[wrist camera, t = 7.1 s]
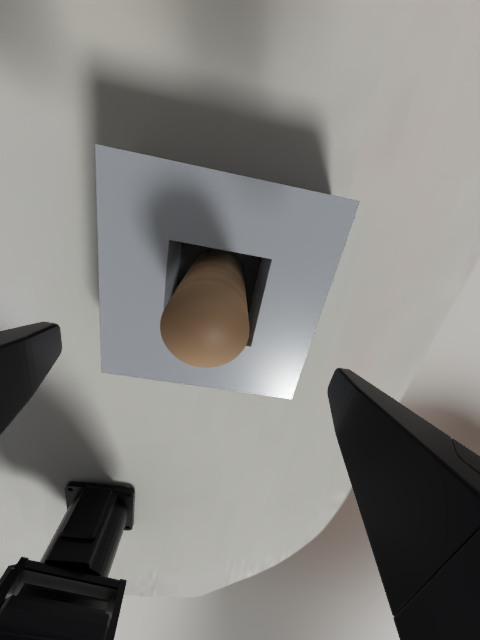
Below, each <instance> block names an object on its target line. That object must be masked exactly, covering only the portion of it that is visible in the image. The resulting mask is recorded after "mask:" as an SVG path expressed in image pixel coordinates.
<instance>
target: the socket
mask: <svg viewBox="0 0 480 640" xmlns="http://www.w3.org/2000/svg"><path fill="white" fill-rule="evenodd" d="M95 161H96V198H97V234H98V271H99V307H100V344H101V372H102V373H109V374H116V375H123V376H130V377H137V378H144V379H151V380H158V381H166V382H173V383H180V384H187V385H194V386H201V387H208V388H215V389H222V390H229V391H236V392H243V393H250V394H258V395H265V396H272V397H279V398H286V399H292V397H293V394H294V391H295V388H296V385H297V382H298V379H299V377H300V374H301V371H302V368H303V365H304V362H305V359H306V356H307V353H308V350H309V347H310V345H311V342H312V339H313V336H314V333H315V330H316V327H317V324H318V321H319V318H320V315H321V313H322V310H323V307H324V304H325V301H326V298H327V295H328V292H329V289H330V286H331V283H332V281H333V278H334V275H335V272H336V269H337V266H338V263H339V260H340V257H341V254H342V251H343V249H344V246H345V243H346V240H347V237H348V234H349V231H350V228H351V225H352V222H353V219H354V217H355V214H356V211H357V208H358V205H359V202H360V201H357V200H352V199H348V198H343V197H338V196H334V195H329V194H325V193H320V192H315V191H311V190H306V189H301V188H297V187H292V186H288V185H283V184H278V183H274V182H269V181H265V180H260V179H255V178H251V177H246V176H242V175H237V174H232V173H228V172H223V171H218V170H214V169H209V168H205V167H200V166H195V165H191V164H186V163H182V162H177V161H172V160H168V159H163V158H159V157H154V156H149V155H145V154H140V153H135V152H131V151H126V150H122V149H117V148H112V147H108V146H103V145H99V144H95ZM182 242H183V243H189V244H194V245H199V246H205V247H210V248H215V249H220V250H226V251H231V252H236V253H241V254H247V255H252V256H257V257H262V259H261V263H260V267H259V272H258V276H257V281H256V285H255V290H254V294H253V299H252V303H251V308H250V312H249V317H248V319H249V338H248V341H247V344H246V346H245V348H244V349H243V351H242V352H241V353H240V354H239V356H237V357H236V358H235V359H234V360H232V361H231V362H229V363H227V364H224V365H222V366H218V367H212V368H201V367H195V366H192V365H189V364H186V363H184V362H182V361H181V360H179V359H178V358H176V357H175V356H174V355H173V354H172V353H171V352H170V351H169V350H168V349H167V347H166V345H165V344H164V342H163V339H162V336H161V332H160V321H161V316H162V313H163V311H164V309H165V307H166V306H167V304H168V302H169V301H170V299H171V297H172V296H173V294H174V293H175V291H176V289H177V287H178V276H179V266H180V256H181V246H182Z"/></svg>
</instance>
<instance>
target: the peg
mask: <svg viewBox="0 0 480 640" xmlns="http://www.w3.org/2000/svg"><path fill="white" fill-rule="evenodd" d="M160 332H161V336H162V339H163V342H164V344H165V345H166V347H167V349H168V350H169V351H170V352H171V353H172V354H173V355H174V356H175V357H176V358H178V359H179V360H181V361H182V362H184V363H186V364H189V365H192V366H195V367H201V368H212V367H218V366H222V365H224V364H227V363H229V362H231V361H232V360H234V359H235V358H236V357H237V356H239V354H240V353H241V352H242V351H243V349H244V348H245V346H246V344H247V341H248V338H249V319H248V309H247V300H246V291H245V282H244V273H243V268H242V266H241V264H240V262H239V261H238V259H237V258H236V257H235V256H234V255H232V254H231V253H229V252H227V251H225V250H220V249H212V250H208V251H205V252H203V253H201V254H200V255H199V256H198V257H197V258H196V259H195V260H194V262H193V263H192V265H191V267H190V268H189V270H188V271H187V273H186V275H185V276H184V278H183V280H182V281H181V283H180V284H179V286H178V288H177V289H176V291H175V293H174V294H173V296H172V297H171V299H170V301H169V302H168V304H167V306H166V307H165V309H164V311H163V313H162V316H161V321H160Z"/></svg>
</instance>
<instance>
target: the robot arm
mask: <svg viewBox="0 0 480 640" xmlns="http://www.w3.org/2000/svg"><path fill="white" fill-rule="evenodd" d="M61 350H62V342H61V332H60V327H59V325H57V324H55V323H49V322H40V323H35V324H31V325H26V326H22V327H17V328H13V329H8V330H4V331H0V435H1V434H2V432H3V431H4V430H5V429H6V428H7V426H8V425H9V424H10V423H11V422H12V420H13V419H14V418H15V417H16V415H17V414H18V413H19V412H20V411H21V409H22V408H23V407H24V406H25V405H26V403H27V402H28V401H29V400H30V398H31V397H32V396H33V394H34V393H35V392H36V390H37V389H38V387H39V386H40V384H41V383H42V381H43V380H44V378H45V377H46V375H47V374H48V372H49V371H50V369H51V368H52V366H53V365H54V363H55V361H56V360H57V358H58V357H59V355H60V353H61ZM328 398H329V403H330V408H331V413H332V418H333V423H334V428H335V433H336V436H337V440H338V443H339V446H340V449H341V453H342V456H343V459H344V462H345V465H346V469H347V472H348V475H349V478H350V481H351V484H352V488H353V491H354V494H355V497H356V500H357V503H358V507H359V510H360V513H361V516H362V519H363V522H364V526H365V529H366V532H367V535H368V538H369V541H370V545H371V548H372V551H373V554H374V557H375V561H376V564H377V567H378V570H379V573H380V576H381V580H382V583H383V586H384V589H385V592H386V596H387V599H388V602H389V605H390V608H391V611H392V614H393V616H394V622H395V625H396V628H397V631H398V634H399V638H400V640H480V456H479V455H477V454H475V453H474V452H473V451H471V450H469V449H468V448H466V447H465V446H463V445H462V444H460V443H459V442H457V441H456V440H454V439H451V438H450V436H448V435H447V434H445V433H444V432H442V431H441V430H439V429H438V428H436V427H435V426H433V425H432V424H430V423H429V422H427V421H426V420H424V419H423V418H421V417H420V416H418V415H417V414H415V413H414V412H412V411H411V410H409V409H408V408H406V407H405V406H403V405H402V404H400V403H399V402H397V401H396V400H394V399H393V398H391V397H390V396H388V395H387V394H385V393H384V392H382V391H381V390H379V389H378V388H376V387H375V386H373V385H372V384H370V383H369V382H367V381H366V380H364V379H363V378H361V377H360V376H358V375H357V374H355V373H354V372H352V371H351V370H349V369H343V368H337V369H336V370H335V372H334V374H333V376H332V379H331V381H330V384H329V386H328ZM65 493H66V502H67V512H66V514H65V516H64V518H63V519H62V521H61V523H60V525H59V527H58V529H57V531H56V533H55V535H54V536H53V538H52V540H51V542H50V544H49V546H48V548H47V550H46V552H45V553H44V555H43V557H42V559H41V561H40V562H36V561H31V560H28V559H29V558H25V557H21V559H20V560H19V562H18V563H17V564H16V565H11V566H8V568H7V569H6V571H5V572H4V574H3V576H2V577H1V579H0V640H114V636H115V631H116V626H117V622H118V617H119V613H120V608H121V604H122V599H123V595H124V590H125V586H126V580H123V579H120V580H117V579H112V578H108V575H109V572H110V569H111V566H112V563H113V560H114V557H115V554H116V551H117V548H118V545H119V542H120V539H121V536H122V533H123V530H131V529H132V527H133V524H134V502H135V490H134V489H132V488H124V487H114V486H105V485H95V484H85V483H76V482H69V483H68V484H67V485H66V487H65Z"/></svg>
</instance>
